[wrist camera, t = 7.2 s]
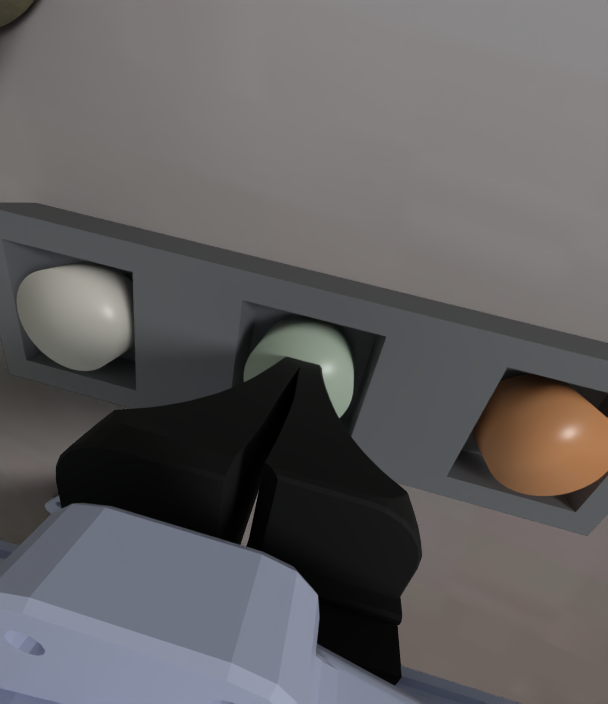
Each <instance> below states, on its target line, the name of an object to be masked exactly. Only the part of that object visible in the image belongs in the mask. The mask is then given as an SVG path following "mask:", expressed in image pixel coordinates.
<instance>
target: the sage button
mask: <svg viewBox="0 0 608 704" xmlns="http://www.w3.org/2000/svg"><path fill="white" fill-rule="evenodd" d="M285 357H291V358H295V359H298V360H302V361H306V362H310V363H314V364H318V365H320V366H321V368H322V374H323V379H324V383H325V386H326V389H327V392H328V395H329V398H330V400H331V402H332V405H333V407H334V409H335V411H336V413H337V415H338V417H339V418H340V417H341V416H342V415H343V414H344V413H345V411H346V410H347V408H348V406H349V404H350V402H351V399H352V395H353V385H354V354H353V350H352V347H351V344H350V342H349V341H348V339H347V337H346V336H345V335H344V334H343V332H342V331H341V330H340V329H339V328H337V327H336V326H335V325H333V324H332V323H330V322H327V321H323V320H319V319H315V318H311V317H307V316H304V315H298V316H292V317H288V318H285V319H283V320H281V321H279V322H278V323H276V324H275V325H273V326H272V327H271V328H270V329H269V330H268V332H267V333H266V334H265V335H264V337H263V338H262V340H261V341H260V342H259V344H258V345H257V346H256V348H255V349H254V350H253V352H252V353H251V354H250V356H249V358H248V360H247V362H246V365H245V369H244V382H245V381H247V380H249V379H251V378H253V377H255V376H257V375H258V374H260V373H262V372H263V371H265V370H267V369H268V368H270V367H271V366H273V365H274V364H276V363H277V362H279V361H280V360H282V359H283V358H285Z"/></svg>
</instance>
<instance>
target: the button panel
mask: <svg viewBox="0 0 608 704" xmlns="http://www.w3.org/2000/svg"><path fill="white" fill-rule="evenodd" d="M84 261H91V262H95V263H99V264H103V265H107V266H111V267H114V268H116V269H117V270H119V271H120V272H122V273H123V274H124V275H125V276H127V277H128V278H129V279H130V280H131V282H132V283H133V300H134V333H135V347H133V348H131V349H130V350H128V351H127V352H125V353H123V354H122V355H120V356H119V357H117V358H115V359H114V360H112V361H110V362H109V363H107V364H106V365H104V366H102V367H101V368H98V369H96V370H91V371H78V370H74V369H70V368H67V367H65V366H62V365H60V364H58V363H57V362H55V361H53V360H52V359H50V358H49V357H48V356H46V355H45V354H44V353H43V352H42V351H41V350H40V349H39V348H38V347H37V346H36V345H35V344H34V343H33V342H32V340H31V339H30V338H29V336H28V335H27V333H26V331H25V329H24V327H23V325H22V323H21V321H20V318H19V314H18V310H17V292H18V289H19V286H20V284H21V283H22V281H23V280H24V279H25V278H26V277H27V276H28V275H29V274H31V273H33V272H36V271H39V270H44V269H49V268H54V267H59V266H64V265H69V264H74V263H79V262H84ZM298 315H304V316H307V317H311V318H315V319H319V320H323V321H327V322H330V323H332V324H333V325H335V326H336V327H337V328H339V329H340V330H341V331H342V332H343V334H344V335H345V336H346V337H347V339H348V341H349V342H350V344H351V347H352V350H353V354H354V385H353V395H352V399H351V402H350V404H349V406H348V408H347V410H346V411H345V413H344V414H343V415H342V416H341V417H340V418H339V419H340V421H341V422H342V424H343V426H344V427H345V429H346V430H347V432H348V433H349V435H350V436H351V437H352V438H353V440H354V441H355V442H356V443H357V445H358V446H359V447H360V448H361V449H362V451H363V452H364V453H365V454H366V455H367V456H368V457H369V458H370V459H371V460H372V461H373V462H374V463H375V464H376V465H377V466H378V467H379V468H380V469H381V470H382V471H383V472H384V473H385V474H386V475H388V476H389V477H390V478H391V479H392V480H393V481H395V482H396V483H399V484H403V485H407V486H410V487H414V488H417V489H421V490H424V491H428V492H432V493H435V494H439V495H442V496H446V497H449V498H453V499H457V500H460V501H464V502H467V503H471V504H474V505H478V506H481V507H485V508H489V509H492V510H496V511H499V512H503V513H506V514H510V515H514V516H517V517H521V518H524V519H528V520H531V521H535V522H539V523H542V524H546V525H549V526H553V527H556V528H560V529H564V530H567V531H571V532H574V533H578V534H581V535H585V536H588V535H589V534H590V533H591V531H592V530H593V529H594V528H595V527H596V526H597V525H598V524H599V523H600V522H601V521H602V520H603V519H604V518H605V516H606V515H607V514H608V471H607V472H606V473H605V474H604V475H603V476H602V477H601V478H599V479H598V480H596V481H595V482H593V483H592V484H590V485H588V486H586V487H584V488H581V489H579V490H576V491H573V492H570V493H566V494H561V495H554V496H534V495H527V494H523V493H519V492H516V491H513V490H511V489H509V488H507V487H505V486H504V485H502V484H501V483H500V482H498V481H497V480H496V479H495V478H494V476H493V475H492V474H491V472H490V470H489V468H488V466H487V464H486V462H485V460H484V458H483V456H482V454H481V452H480V450H479V448H478V445H477V443H476V441H475V439H474V437H473V435H472V433H471V432H472V430H473V428H474V426H475V424H476V423H477V421H478V419H479V417H480V416H481V414H482V412H483V410H484V408H485V407H486V405H487V403H488V401H489V399H490V398H491V396H492V394H493V392H494V390H495V389H496V387H497V385H498V383H499V382H501V381H503V380H505V379H508V378H511V377H515V376H519V375H527V374H536V375H540V376H544V377H548V378H552V379H556V380H559V381H563V382H565V383H567V384H568V385H570V386H571V387H572V388H573V389H574V390H576V391H577V392H578V393H579V394H580V395H581V396H582V397H584V398H585V399H586V400H587V401H588V402H589V403H591V404H592V405H593V406H594V407H595V408H596V409H598V410H599V411H600V412H601V413H602V414H603V415H605V416H606V417H607V418H608V343H605V342H601V341H597V340H593V339H589V338H584V337H580V336H576V335H572V334H568V333H564V332H560V331H556V330H552V329H548V328H544V327H540V326H536V325H531V324H527V323H523V322H519V321H515V320H511V319H507V318H503V317H499V316H495V315H491V314H487V313H482V312H478V311H474V310H470V309H466V308H462V307H458V306H454V305H450V304H446V303H442V302H438V301H434V300H429V299H425V298H421V297H417V296H413V295H409V294H405V293H401V292H397V291H393V290H389V289H385V288H381V287H376V286H372V285H368V284H364V283H360V282H356V281H352V280H348V279H344V278H340V277H336V276H332V275H328V274H323V273H319V272H315V271H311V270H307V269H303V268H299V267H295V266H291V265H287V264H283V263H279V262H274V261H270V260H266V259H262V258H258V257H254V256H250V255H246V254H242V253H238V252H234V251H230V250H226V249H221V248H217V247H213V246H209V245H205V244H201V243H197V242H193V241H189V240H185V239H181V238H177V237H173V236H168V235H164V234H160V233H156V232H152V231H148V230H144V229H140V228H136V227H132V226H128V225H124V224H120V223H115V222H111V221H107V220H103V219H99V218H95V217H91V216H87V215H83V214H79V213H75V212H71V211H66V210H62V209H58V208H54V207H50V206H46V205H42V204H38V203H0V336H1V341H2V345H3V349H4V354H5V358H6V362H7V366H8V371H9V374H11V375H14V376H18V377H21V378H25V379H29V380H32V381H36V382H39V383H43V384H46V385H50V386H54V387H57V388H61V389H64V390H68V391H71V392H75V393H79V394H82V395H86V396H89V397H93V398H96V399H100V400H104V401H107V402H111V403H114V404H118V405H121V406H125V407H128V408H132V409H135V408H147V407H156V406H163V405H169V404H176V403H181V402H186V401H190V400H194V399H198V398H202V397H205V396H209V395H213V394H216V393H219V392H222V391H225V390H227V389H230V388H232V387H235V386H237V385H239V384H242V383H244V369H245V365H246V362H247V360H248V358H249V356H250V354H251V353H252V352H253V350H254V349H255V348H256V346H257V345H258V344H259V342H260V341H261V340H262V338H263V337H264V335H265V334H266V333H267V332H268V330H269V329H270V328H271V327H272V326H273V325H275V324H276V323H278V322H279V321H281V320H283V319H285V318H288V317H292V316H298Z"/></svg>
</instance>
